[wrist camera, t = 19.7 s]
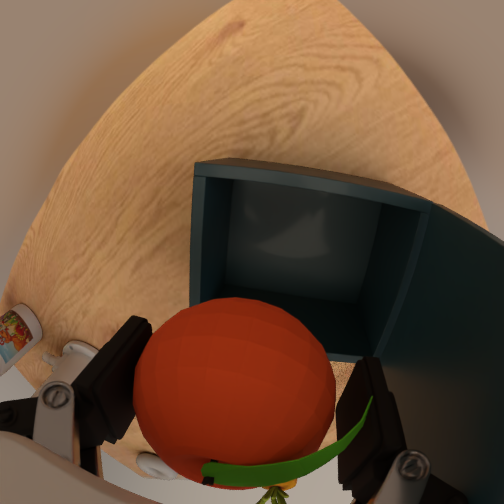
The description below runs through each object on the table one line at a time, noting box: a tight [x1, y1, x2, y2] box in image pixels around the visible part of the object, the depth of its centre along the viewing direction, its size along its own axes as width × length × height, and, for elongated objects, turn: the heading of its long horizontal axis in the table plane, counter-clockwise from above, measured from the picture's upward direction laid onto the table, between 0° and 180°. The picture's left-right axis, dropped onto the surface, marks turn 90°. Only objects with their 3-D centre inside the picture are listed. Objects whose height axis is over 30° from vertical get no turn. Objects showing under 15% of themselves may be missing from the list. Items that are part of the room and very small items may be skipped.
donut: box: [136, 453, 178, 480], centre depth 46 cm, size 10×4×10 cm
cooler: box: [189, 158, 434, 363], centre depth 21 cm, size 15×13×9 cm
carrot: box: [256, 479, 297, 504], centre depth 28 cm, size 5×5×15 cm
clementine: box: [133, 297, 373, 490], centre depth 9 cm, size 8×7×7 cm
